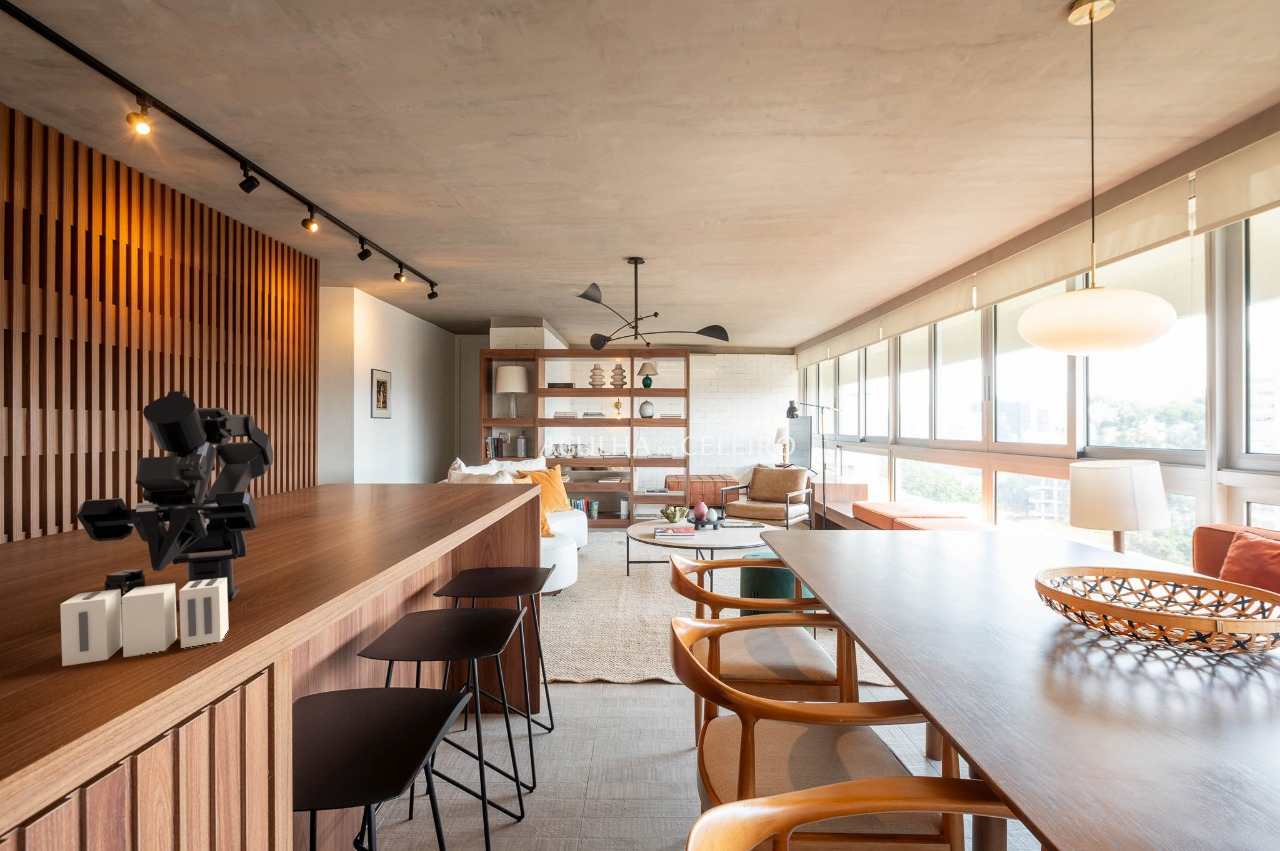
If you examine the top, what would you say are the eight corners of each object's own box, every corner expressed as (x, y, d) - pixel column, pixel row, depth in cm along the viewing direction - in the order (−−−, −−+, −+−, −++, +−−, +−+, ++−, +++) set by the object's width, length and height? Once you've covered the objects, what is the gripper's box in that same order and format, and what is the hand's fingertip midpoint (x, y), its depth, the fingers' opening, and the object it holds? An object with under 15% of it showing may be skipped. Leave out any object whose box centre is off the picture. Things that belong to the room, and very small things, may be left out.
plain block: (137, 643, 77) (135, 587, 77) (177, 638, 78) (175, 583, 78) (123, 657, 72) (121, 597, 72) (165, 651, 74) (163, 592, 74)
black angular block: (109, 612, 93) (108, 582, 93) (64, 612, 93) (63, 582, 93) (178, 590, 105) (177, 563, 105) (138, 590, 106) (138, 563, 106)
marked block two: (191, 636, 79) (189, 580, 79) (228, 631, 81) (226, 576, 81) (180, 649, 74) (178, 589, 74) (220, 643, 76) (218, 585, 76)
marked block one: (80, 651, 74) (78, 592, 74) (122, 646, 76) (120, 587, 76) (61, 666, 70) (59, 603, 70) (106, 660, 71) (104, 598, 71)
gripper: (81, 437, 79) (33, 537, 69) (249, 432, 85) (228, 523, 75) (112, 493, 87) (73, 591, 76) (265, 484, 93) (248, 574, 82)
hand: (156, 569), depth 77 cm, fingers closed
